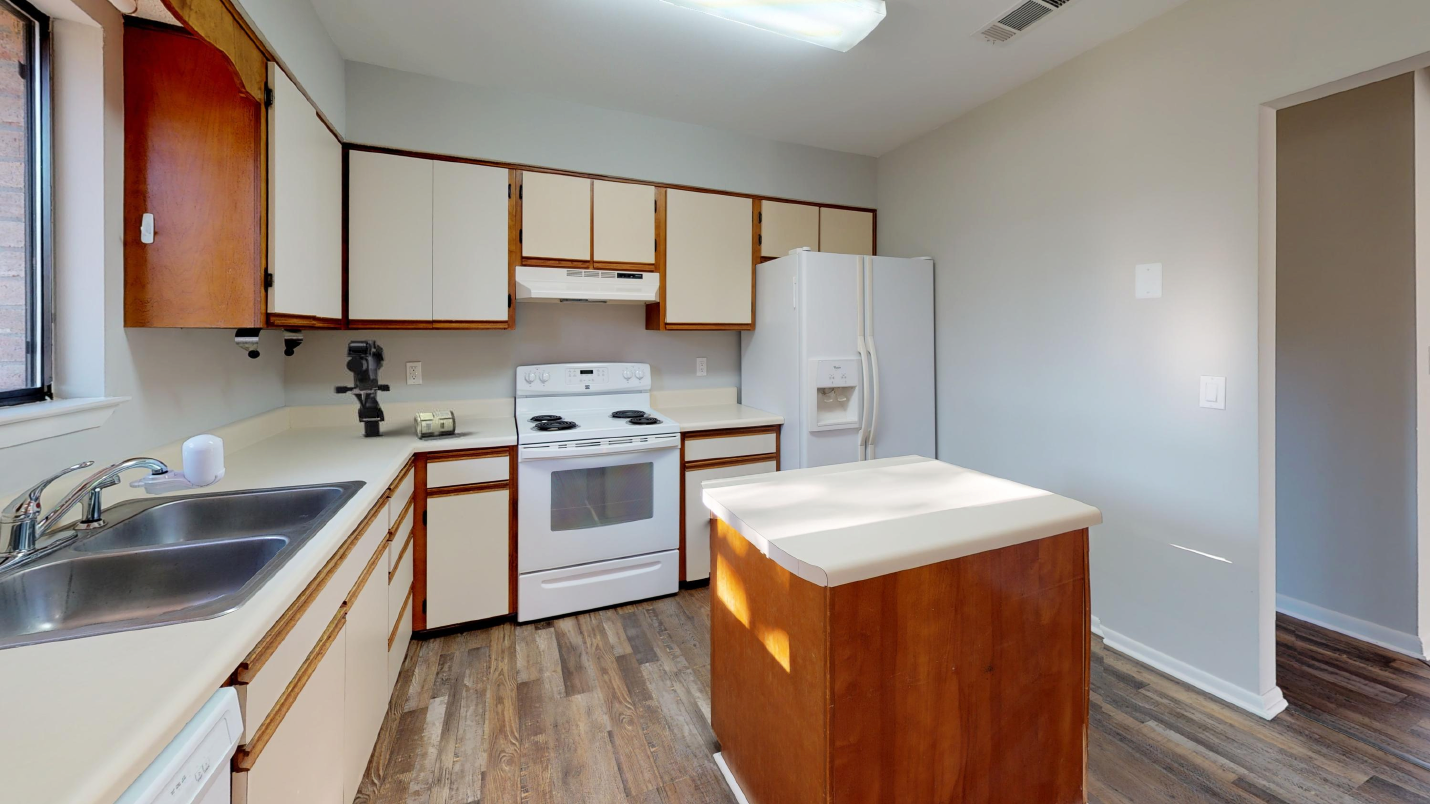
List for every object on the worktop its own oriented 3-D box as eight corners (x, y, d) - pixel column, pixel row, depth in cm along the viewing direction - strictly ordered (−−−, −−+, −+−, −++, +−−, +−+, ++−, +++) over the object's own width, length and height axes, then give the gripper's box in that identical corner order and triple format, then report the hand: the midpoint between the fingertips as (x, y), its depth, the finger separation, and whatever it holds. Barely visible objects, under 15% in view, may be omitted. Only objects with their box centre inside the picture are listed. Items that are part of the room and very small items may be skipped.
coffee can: (413, 428, 240) (448, 425, 248) (418, 442, 233) (454, 439, 242) (414, 408, 235) (450, 406, 243) (419, 422, 228) (456, 419, 237)
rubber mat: (412, 434, 246) (412, 432, 246) (447, 431, 255) (447, 429, 255) (423, 440, 231) (423, 438, 231) (459, 437, 240) (459, 435, 240)
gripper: (337, 373, 214) (340, 413, 216) (392, 371, 226) (394, 410, 228) (332, 371, 222) (334, 410, 224) (385, 370, 234) (387, 407, 236)
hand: (363, 409), depth 228 cm, fingers closed
